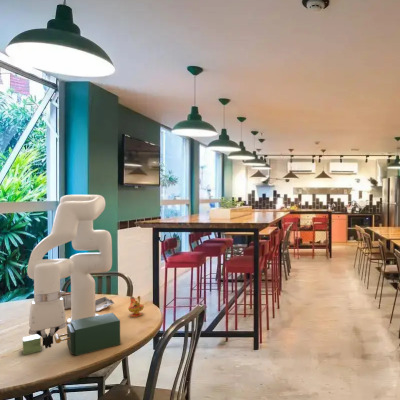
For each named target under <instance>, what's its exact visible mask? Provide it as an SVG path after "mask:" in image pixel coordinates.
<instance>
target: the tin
mask: <svg viewBox="0 0 400 400" xmlns="http://www.w3.org/2000/svg"><path fill="white" fill-rule="evenodd" d="M61 297H62V298H63V302H64V310H65V311H66V310H71V291H67V292H65V295H62V296H61Z"/></svg>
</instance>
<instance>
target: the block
mask: <svg viewBox="0 0 400 400" xmlns="http://www.w3.org/2000/svg"><path fill="white" fill-rule="evenodd" d="M41 338H42V337H41V336H39V335H37V334H31V335H29V336H23V337H22V354H23V356H25V355H30V354H33V353H38V352H41V351H42V349H41V348H42V344H41V341H42V339H41Z"/></svg>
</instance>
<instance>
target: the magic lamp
mask: <svg viewBox="0 0 400 400" xmlns="http://www.w3.org/2000/svg"><path fill="white" fill-rule="evenodd" d="M129 298H130V300H129V301H130V305H129V306H128V311H129V312H130V313H132V314H130V318H137V317H141V316H142V315H143V314H142V313H140V312H141V311H143V310H144V308H145V305H144V304H142V303H141V296H140V295H138V296H137V300H136V299H135V297H134V296H131V297H129Z"/></svg>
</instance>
